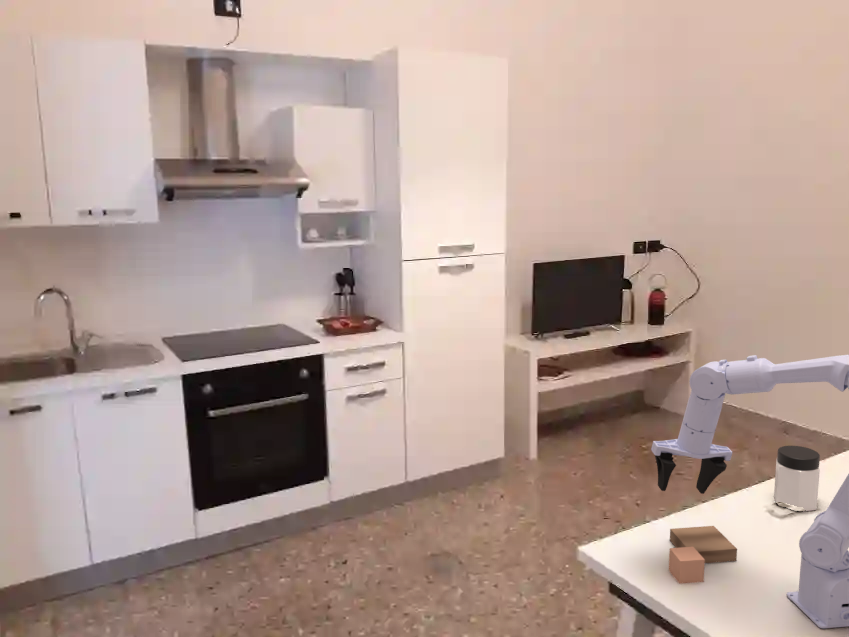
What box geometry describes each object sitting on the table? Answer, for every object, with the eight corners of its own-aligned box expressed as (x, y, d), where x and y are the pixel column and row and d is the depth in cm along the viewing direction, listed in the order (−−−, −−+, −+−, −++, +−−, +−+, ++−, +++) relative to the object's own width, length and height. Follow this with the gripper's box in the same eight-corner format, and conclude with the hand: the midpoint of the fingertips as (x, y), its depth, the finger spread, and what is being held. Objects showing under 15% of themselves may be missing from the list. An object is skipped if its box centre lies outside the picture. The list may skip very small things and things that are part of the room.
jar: (824, 504, 152) (828, 452, 149) (808, 516, 146) (812, 463, 144) (782, 491, 158) (785, 441, 156) (765, 502, 153) (769, 451, 151)
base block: (736, 560, 131) (737, 548, 130) (690, 564, 130) (690, 552, 129) (713, 537, 139) (713, 525, 139) (669, 540, 139) (670, 528, 138)
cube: (703, 582, 124) (704, 559, 123) (679, 584, 124) (680, 561, 123) (692, 568, 129) (693, 546, 128) (668, 570, 128) (669, 548, 127)
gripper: (726, 417, 130) (707, 480, 134) (652, 411, 128) (636, 474, 133) (745, 436, 123) (724, 501, 128) (667, 430, 122) (649, 496, 126)
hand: (680, 489), depth 130 cm, fingers open, 7 cm apart
